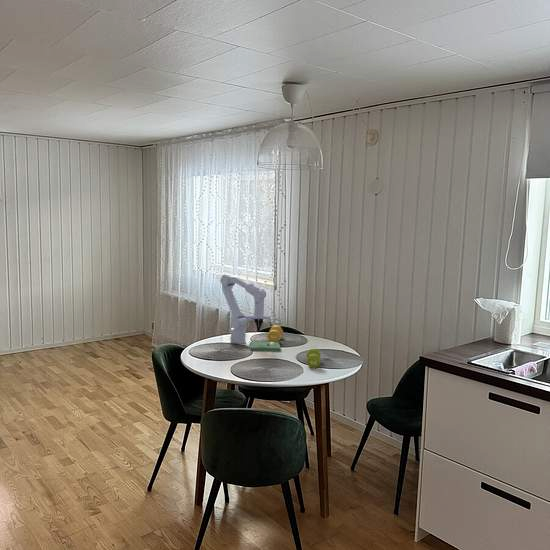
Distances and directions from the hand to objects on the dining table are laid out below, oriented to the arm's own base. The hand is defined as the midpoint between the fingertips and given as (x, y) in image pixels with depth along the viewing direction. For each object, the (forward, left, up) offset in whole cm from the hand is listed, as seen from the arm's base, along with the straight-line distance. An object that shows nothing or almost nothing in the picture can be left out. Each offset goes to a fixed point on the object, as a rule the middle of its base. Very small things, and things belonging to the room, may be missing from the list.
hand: (258, 331), depth 314 cm
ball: (+8, -5, -7) cm, 12 cm away
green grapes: (+28, -38, -10) cm, 48 cm away
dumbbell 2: (+12, +16, -10) cm, 22 cm away
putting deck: (+4, -5, -9) cm, 11 cm away
